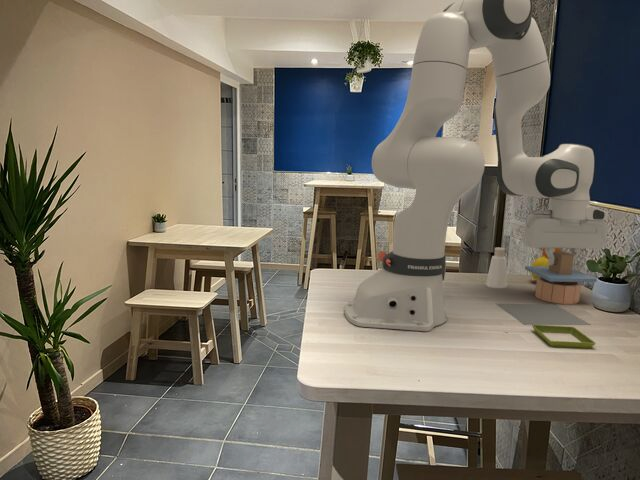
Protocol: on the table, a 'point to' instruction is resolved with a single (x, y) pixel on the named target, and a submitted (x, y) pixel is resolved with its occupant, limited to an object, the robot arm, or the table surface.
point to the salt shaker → (497, 270)
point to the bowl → (558, 291)
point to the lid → (561, 270)
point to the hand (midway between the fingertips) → (560, 265)
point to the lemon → (539, 264)
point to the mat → (542, 314)
